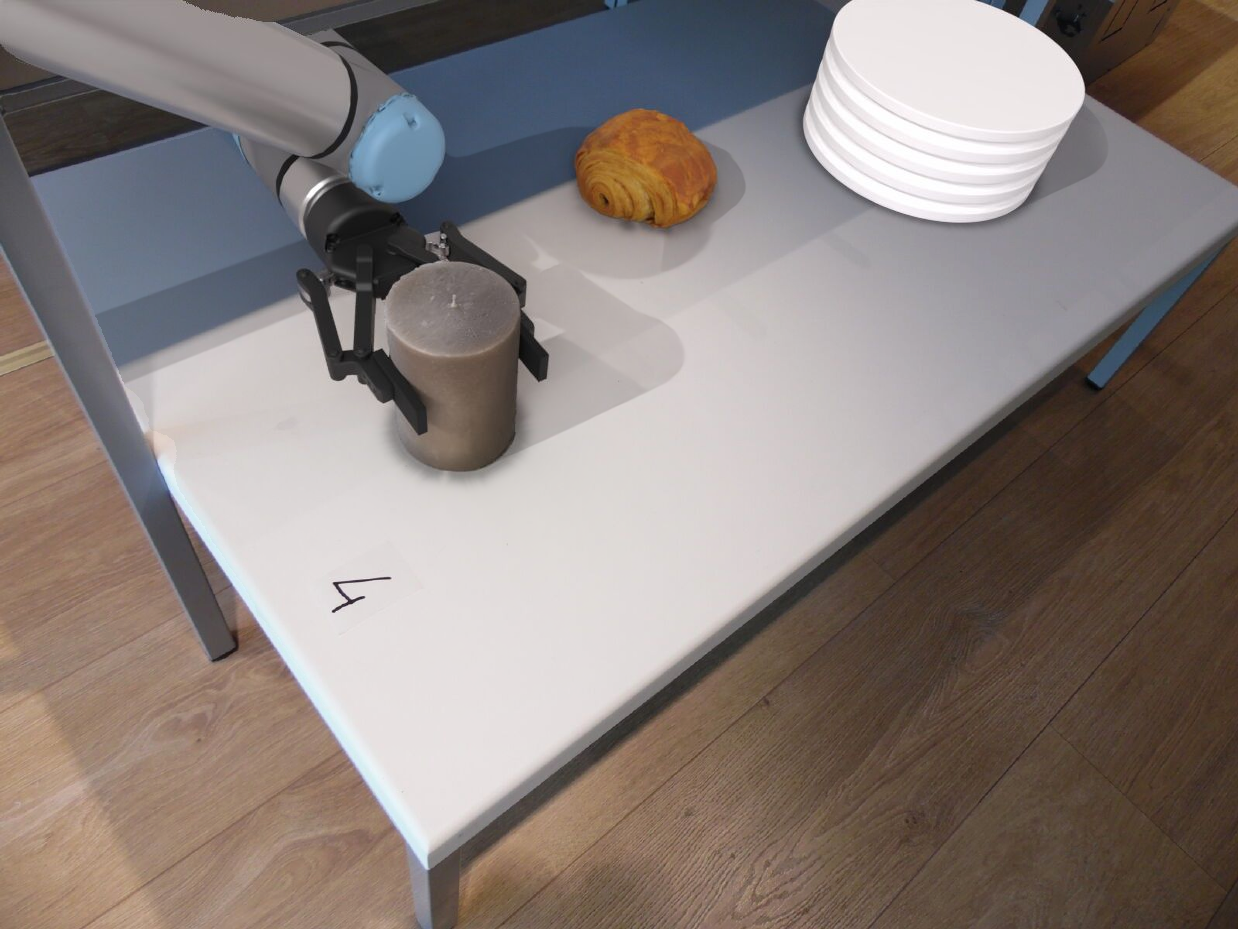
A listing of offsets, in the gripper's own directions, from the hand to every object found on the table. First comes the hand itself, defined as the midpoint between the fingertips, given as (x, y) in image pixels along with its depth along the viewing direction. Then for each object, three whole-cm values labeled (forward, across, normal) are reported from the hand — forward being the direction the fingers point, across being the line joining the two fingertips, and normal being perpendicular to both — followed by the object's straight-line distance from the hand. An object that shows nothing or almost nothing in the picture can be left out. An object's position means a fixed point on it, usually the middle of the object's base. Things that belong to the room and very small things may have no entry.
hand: (485, 394), depth 67 cm
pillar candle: (-4, 0, -9) cm, 10 cm away
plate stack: (-14, -68, -9) cm, 70 cm away
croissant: (-22, -33, -9) cm, 41 cm away
